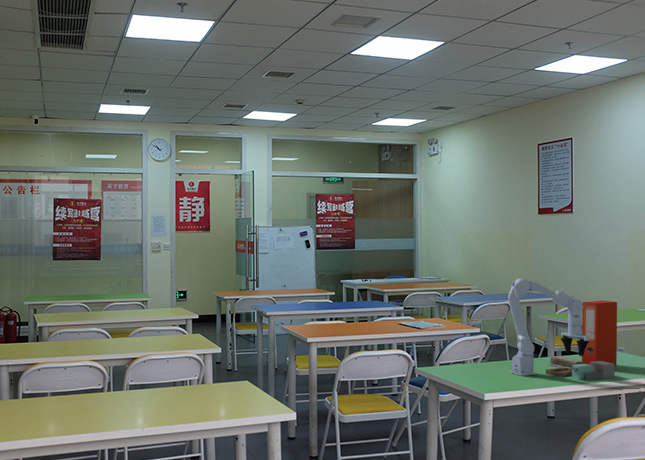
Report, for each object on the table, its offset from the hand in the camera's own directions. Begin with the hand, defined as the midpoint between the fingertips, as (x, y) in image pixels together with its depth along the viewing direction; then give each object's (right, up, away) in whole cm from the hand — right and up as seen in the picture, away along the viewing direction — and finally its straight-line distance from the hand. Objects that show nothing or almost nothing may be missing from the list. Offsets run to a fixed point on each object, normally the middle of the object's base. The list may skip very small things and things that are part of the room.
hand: (574, 354), depth 295 cm
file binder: (+21, -11, +22) cm, 32 cm away
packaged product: (+4, -11, +19) cm, 22 cm away
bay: (+7, -10, -3) cm, 13 cm away
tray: (-4, -10, +3) cm, 11 cm away
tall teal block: (+1, -10, -6) cm, 12 cm away
